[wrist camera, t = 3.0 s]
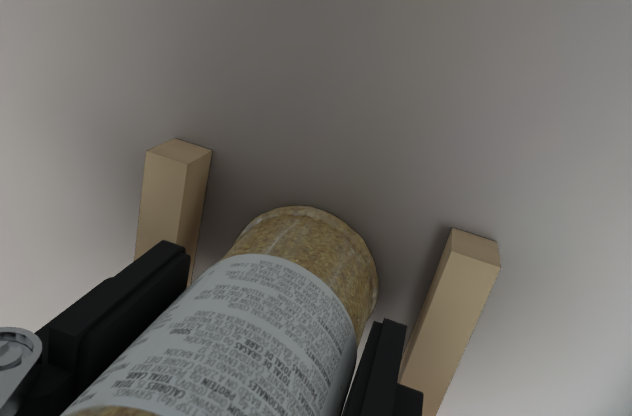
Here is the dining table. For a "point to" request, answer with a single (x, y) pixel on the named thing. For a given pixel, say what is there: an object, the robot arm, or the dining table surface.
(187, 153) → the oak rail
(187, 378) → the sprinkles bottle
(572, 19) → the dining table surface
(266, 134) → the dining table surface
